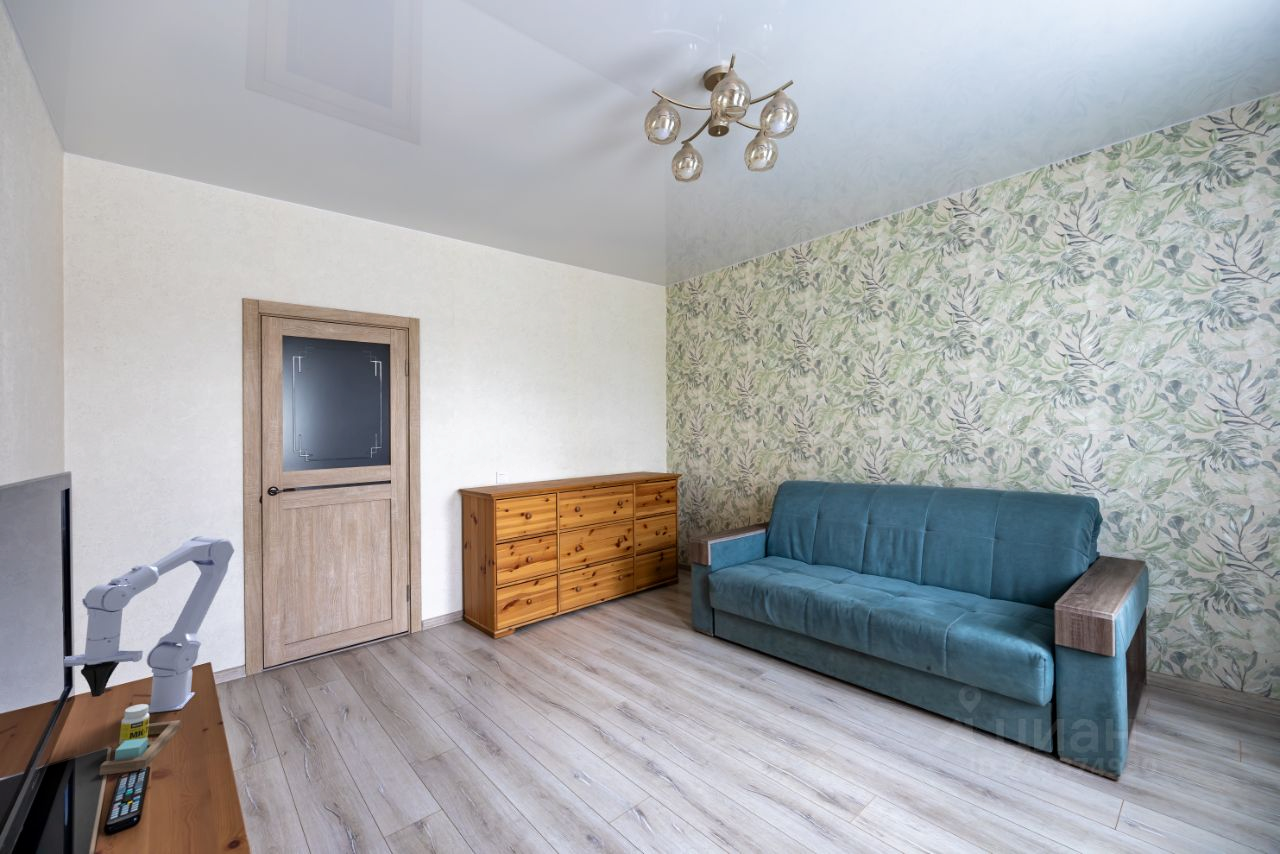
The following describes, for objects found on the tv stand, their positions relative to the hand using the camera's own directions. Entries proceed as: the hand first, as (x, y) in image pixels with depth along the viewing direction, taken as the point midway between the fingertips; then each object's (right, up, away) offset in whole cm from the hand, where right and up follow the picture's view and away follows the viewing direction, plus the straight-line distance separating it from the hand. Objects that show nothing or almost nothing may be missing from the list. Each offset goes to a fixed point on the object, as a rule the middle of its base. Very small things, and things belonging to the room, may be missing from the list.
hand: (97, 694), depth 125 cm
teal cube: (+16, -10, -9) cm, 21 cm away
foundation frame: (+15, -10, -4) cm, 18 cm away
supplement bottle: (+11, -11, -3) cm, 15 cm away
